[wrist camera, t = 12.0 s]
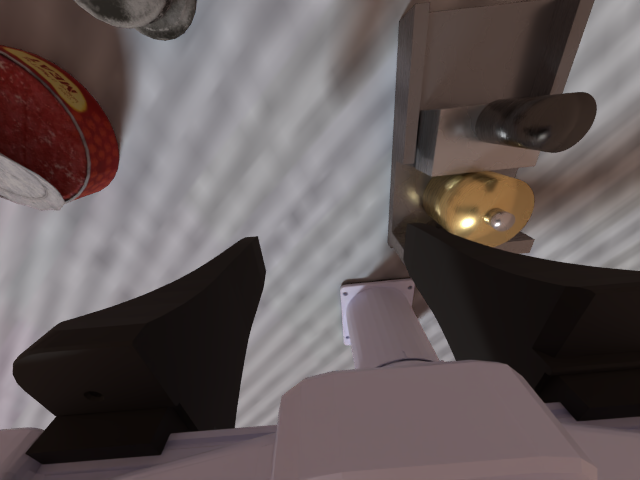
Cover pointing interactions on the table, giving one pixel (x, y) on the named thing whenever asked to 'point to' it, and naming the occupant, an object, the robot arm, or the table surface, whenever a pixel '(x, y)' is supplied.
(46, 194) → the canned food
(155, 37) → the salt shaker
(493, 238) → the gold bell
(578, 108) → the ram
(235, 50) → the table surface
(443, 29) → the press frame
